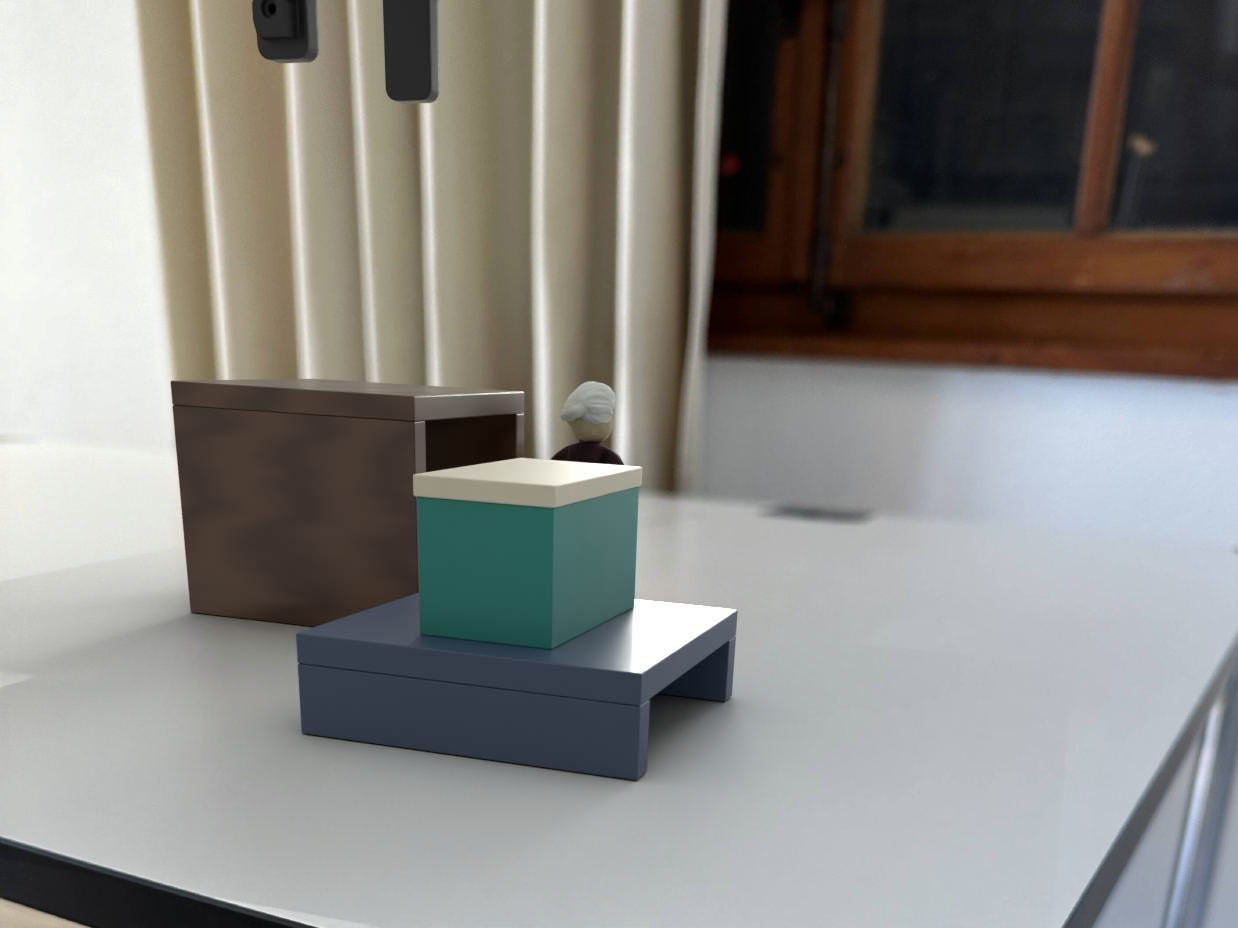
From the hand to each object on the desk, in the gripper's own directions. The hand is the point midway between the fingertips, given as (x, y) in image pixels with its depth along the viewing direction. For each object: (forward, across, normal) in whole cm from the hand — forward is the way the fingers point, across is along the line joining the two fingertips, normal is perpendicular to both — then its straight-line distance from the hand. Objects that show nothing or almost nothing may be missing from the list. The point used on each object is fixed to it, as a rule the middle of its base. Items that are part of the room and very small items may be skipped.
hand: (355, 82), depth 51 cm
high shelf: (+24, -15, -10) cm, 30 cm away
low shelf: (+24, +2, +9) cm, 25 cm away
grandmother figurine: (+24, -26, -1) cm, 35 cm away
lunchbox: (+20, +2, +9) cm, 22 cm away
